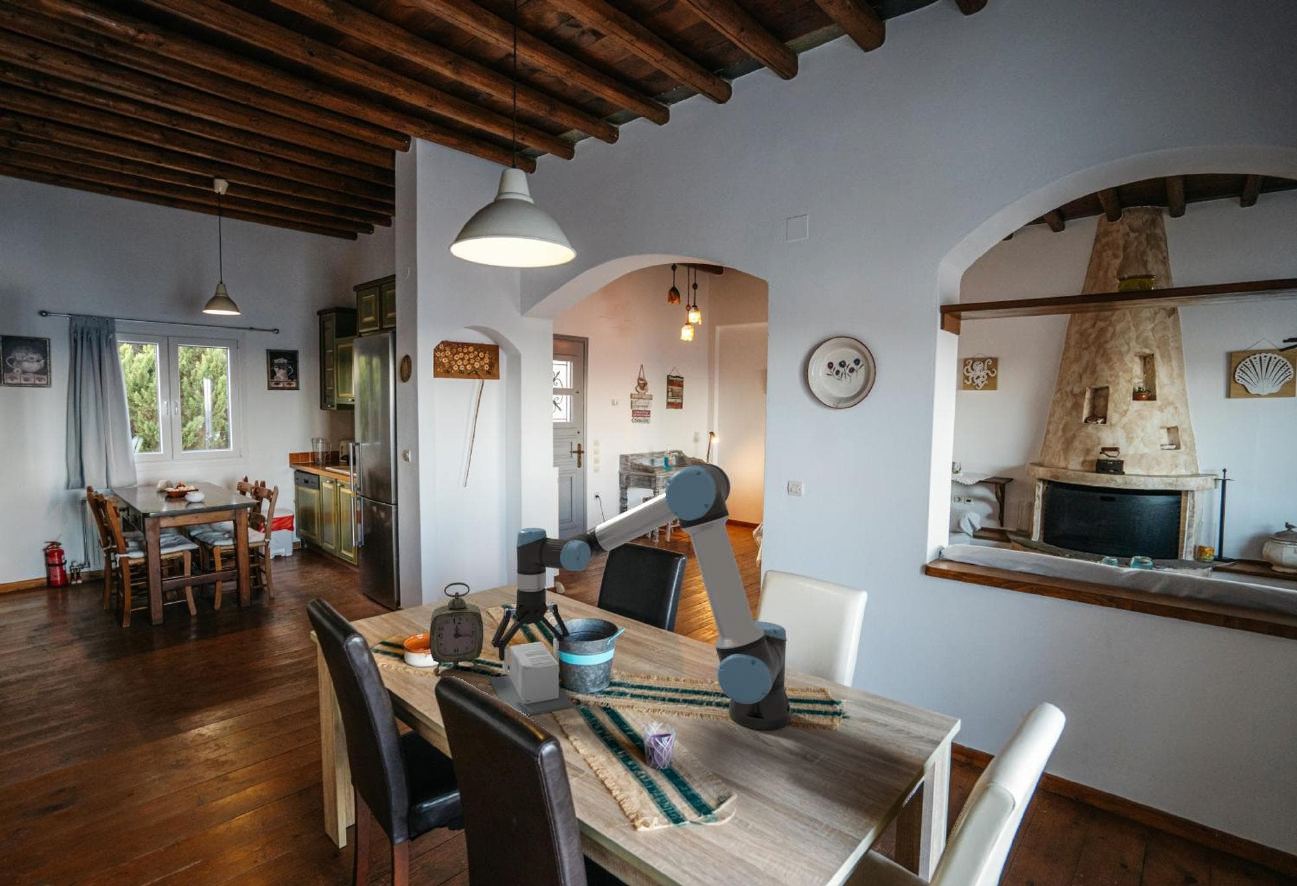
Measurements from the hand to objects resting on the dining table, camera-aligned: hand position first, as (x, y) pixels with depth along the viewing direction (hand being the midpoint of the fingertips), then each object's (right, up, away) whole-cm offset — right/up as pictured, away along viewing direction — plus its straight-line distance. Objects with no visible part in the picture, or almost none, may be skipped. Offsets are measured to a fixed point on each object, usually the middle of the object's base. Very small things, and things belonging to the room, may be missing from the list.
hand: (531, 667), depth 166 cm
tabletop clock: (-24, -6, +15) cm, 29 cm away
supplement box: (-3, -1, +9) cm, 10 cm away
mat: (0, -7, 0) cm, 7 cm away
